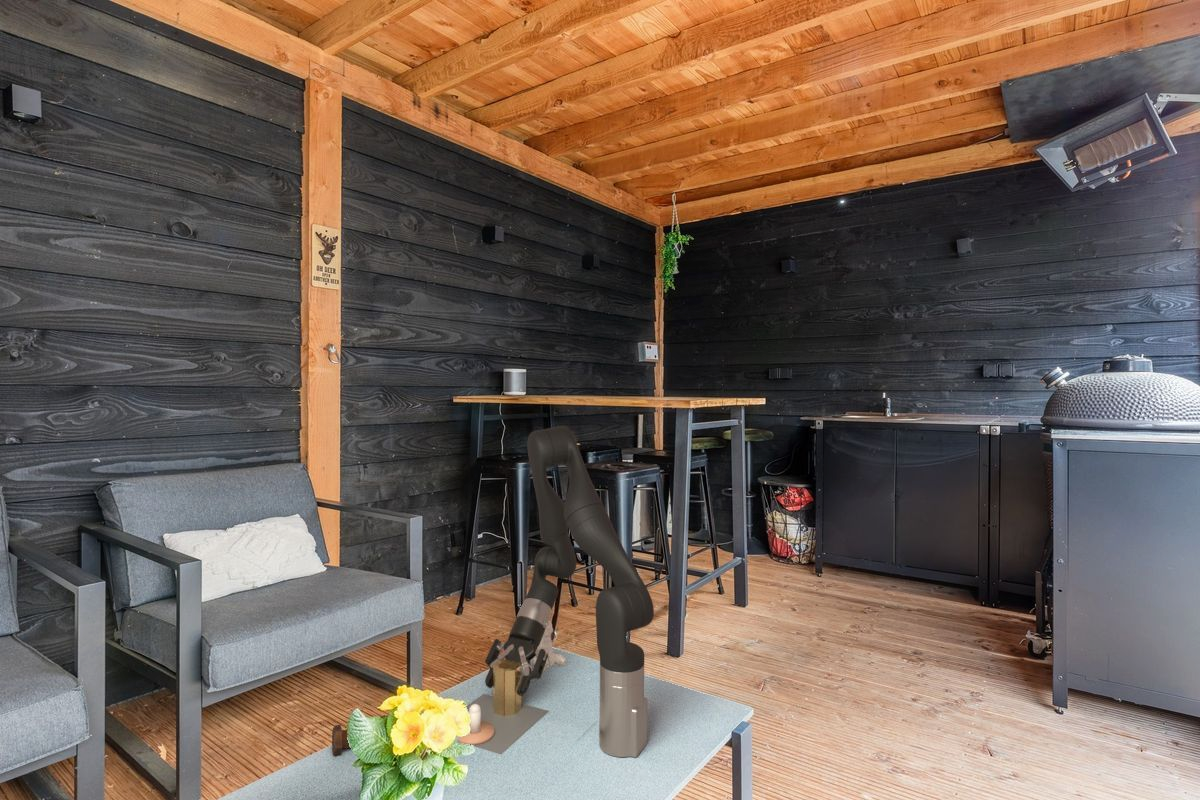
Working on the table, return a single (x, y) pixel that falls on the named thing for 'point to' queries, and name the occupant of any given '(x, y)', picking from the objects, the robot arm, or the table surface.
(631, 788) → the table surface
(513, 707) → the sleeve
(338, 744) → the bolt
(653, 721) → the table surface
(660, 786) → the table surface
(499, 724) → the rod board
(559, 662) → the white creature statuette
